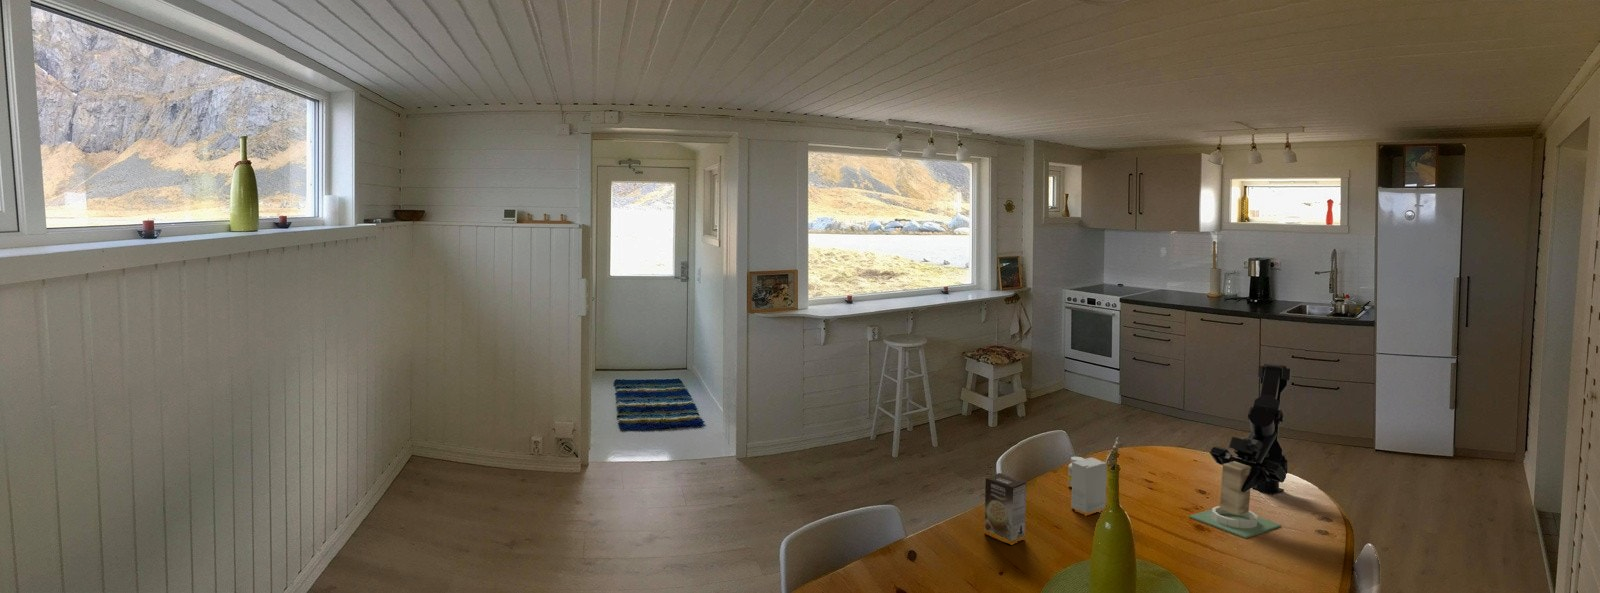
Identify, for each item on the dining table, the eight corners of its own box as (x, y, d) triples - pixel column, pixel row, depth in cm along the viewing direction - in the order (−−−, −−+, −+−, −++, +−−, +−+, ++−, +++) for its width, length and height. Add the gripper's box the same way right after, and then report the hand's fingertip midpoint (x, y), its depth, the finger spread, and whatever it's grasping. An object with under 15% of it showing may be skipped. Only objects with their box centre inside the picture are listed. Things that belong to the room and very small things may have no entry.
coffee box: (983, 535, 196) (983, 477, 194) (997, 528, 200) (998, 472, 198) (1011, 546, 189) (1012, 486, 187) (1026, 540, 192) (1027, 481, 191)
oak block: (1231, 505, 206) (1234, 461, 204) (1248, 511, 201) (1251, 466, 200) (1219, 508, 203) (1222, 464, 202) (1237, 515, 199) (1240, 469, 197)
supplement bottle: (1064, 487, 230) (1065, 458, 230) (1073, 483, 234) (1074, 454, 233) (1080, 492, 226) (1081, 462, 225) (1089, 488, 230) (1089, 458, 229)
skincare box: (1090, 505, 216) (1091, 456, 214) (1107, 512, 210) (1108, 462, 209) (1069, 510, 212) (1070, 460, 211) (1086, 517, 207) (1087, 466, 205)
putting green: (1224, 506, 213) (1224, 498, 213) (1280, 526, 199) (1281, 517, 199) (1188, 517, 206) (1189, 508, 206) (1245, 538, 192) (1245, 529, 191)
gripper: (1214, 418, 210) (1188, 462, 206) (1282, 434, 193) (1255, 482, 189) (1230, 441, 214) (1205, 484, 210) (1297, 458, 198) (1271, 505, 194)
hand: (1232, 488), depth 201 cm, fingers closed on oak block, 5 cm apart
